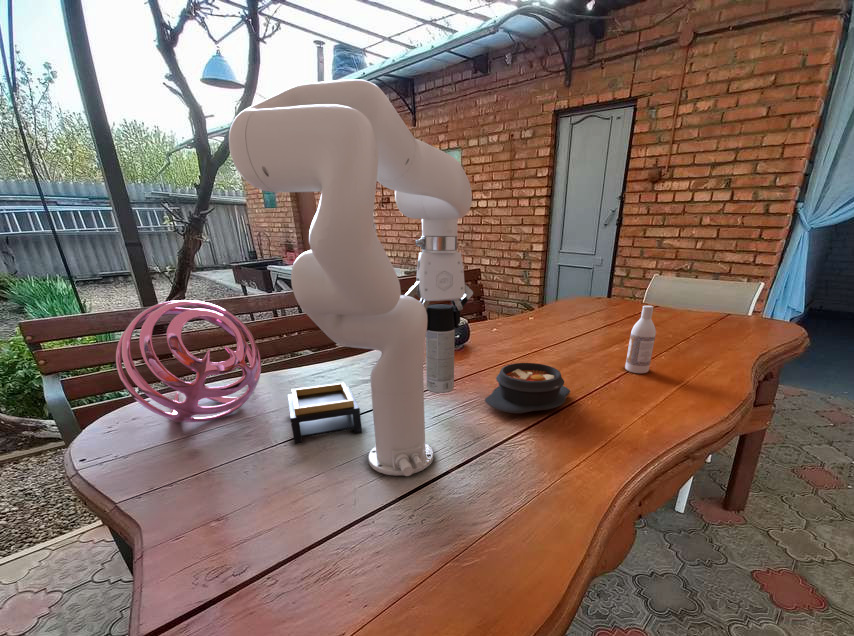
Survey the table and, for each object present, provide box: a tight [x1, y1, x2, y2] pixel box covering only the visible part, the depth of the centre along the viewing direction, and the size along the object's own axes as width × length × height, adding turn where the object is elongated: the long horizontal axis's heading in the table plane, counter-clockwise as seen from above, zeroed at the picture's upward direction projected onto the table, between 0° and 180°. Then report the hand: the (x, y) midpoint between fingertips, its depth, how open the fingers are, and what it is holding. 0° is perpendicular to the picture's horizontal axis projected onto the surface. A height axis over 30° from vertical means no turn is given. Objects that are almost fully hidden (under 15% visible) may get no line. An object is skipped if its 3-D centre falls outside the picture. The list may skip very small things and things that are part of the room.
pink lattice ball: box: [115, 299, 262, 423], centre depth 98 cm, size 28×28×27 cm
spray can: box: [425, 303, 456, 394], centre depth 99 cm, size 7×7×20 cm
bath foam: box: [624, 304, 657, 374], centre depth 129 cm, size 7×7×20 cm
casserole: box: [484, 362, 571, 414], centre depth 108 cm, size 25×19×8 cm
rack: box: [286, 382, 363, 445], centre depth 95 cm, size 14×14×8 cm
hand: (440, 327), depth 97 cm, fingers closed on spray can, 6 cm apart
